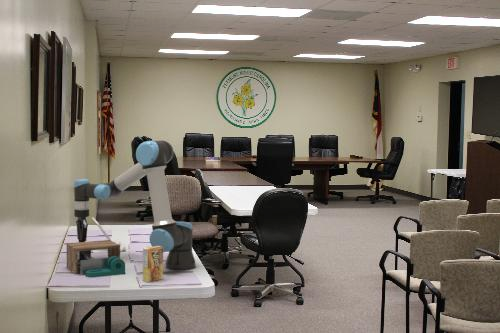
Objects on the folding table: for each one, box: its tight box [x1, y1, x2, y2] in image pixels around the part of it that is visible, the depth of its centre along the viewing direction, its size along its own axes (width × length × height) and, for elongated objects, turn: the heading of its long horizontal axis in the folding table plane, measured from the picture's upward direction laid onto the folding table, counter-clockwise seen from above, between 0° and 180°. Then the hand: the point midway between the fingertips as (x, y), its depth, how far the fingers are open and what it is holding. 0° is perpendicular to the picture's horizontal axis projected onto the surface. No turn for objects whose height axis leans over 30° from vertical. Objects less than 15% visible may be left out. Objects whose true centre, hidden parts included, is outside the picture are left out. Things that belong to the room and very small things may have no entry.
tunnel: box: [66, 239, 121, 275], centre depth 320 cm, size 16×22×12 cm
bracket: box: [85, 256, 126, 278], centre depth 309 cm, size 18×7×8 cm, turn 121°
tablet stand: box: [91, 216, 127, 255], centre depth 371 cm, size 18×25×17 cm
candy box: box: [142, 246, 164, 283], centre depth 299 cm, size 9×4×15 cm, turn 137°
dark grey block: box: [78, 250, 119, 275], centre depth 323 cm, size 27×19×9 cm
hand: (81, 253), depth 337 cm, fingers closed
